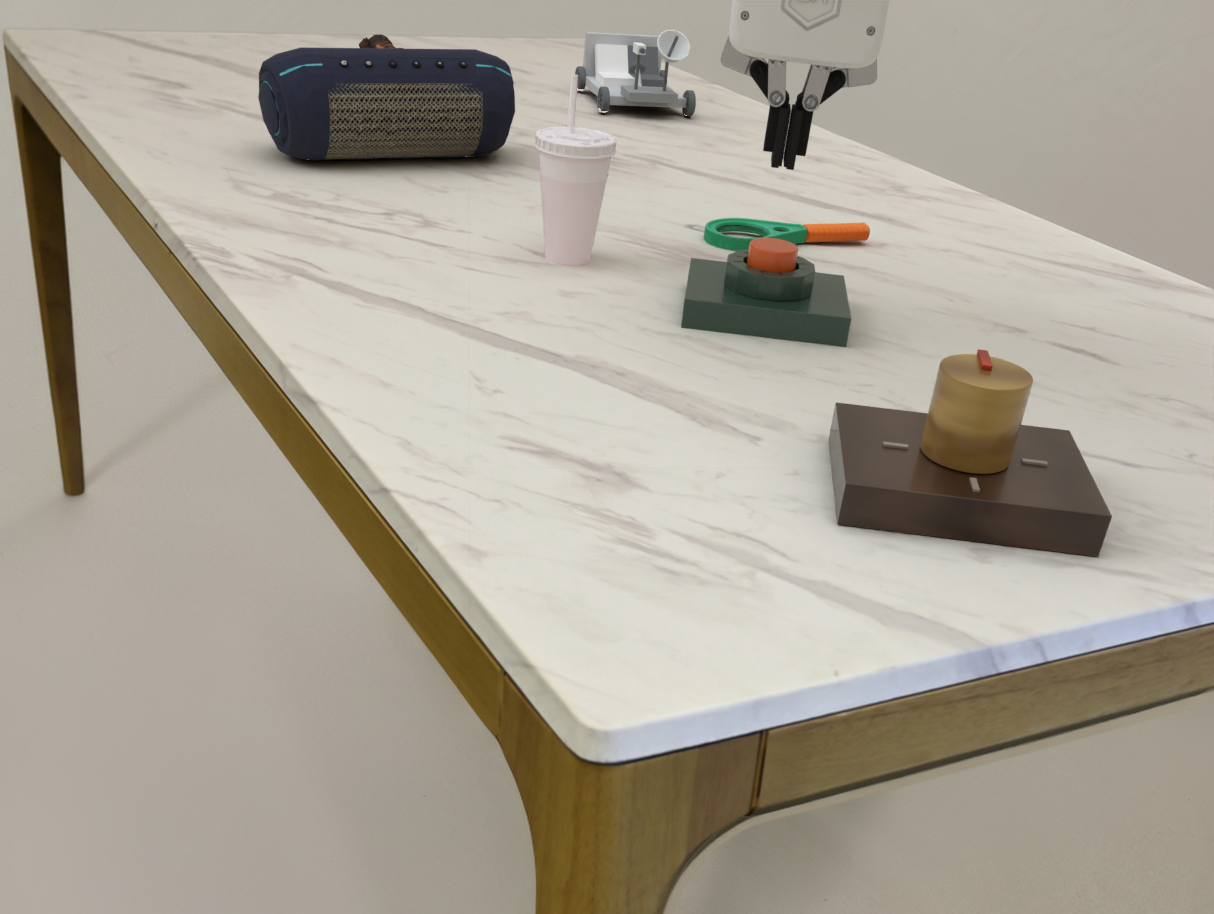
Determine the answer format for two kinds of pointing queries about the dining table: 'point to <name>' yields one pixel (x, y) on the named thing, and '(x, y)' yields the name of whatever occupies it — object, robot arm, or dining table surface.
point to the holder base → (963, 486)
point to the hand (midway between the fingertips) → (782, 163)
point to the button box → (767, 301)
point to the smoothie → (572, 185)
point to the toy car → (634, 69)
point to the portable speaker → (386, 102)
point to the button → (772, 255)
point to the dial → (976, 413)
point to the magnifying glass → (780, 232)
